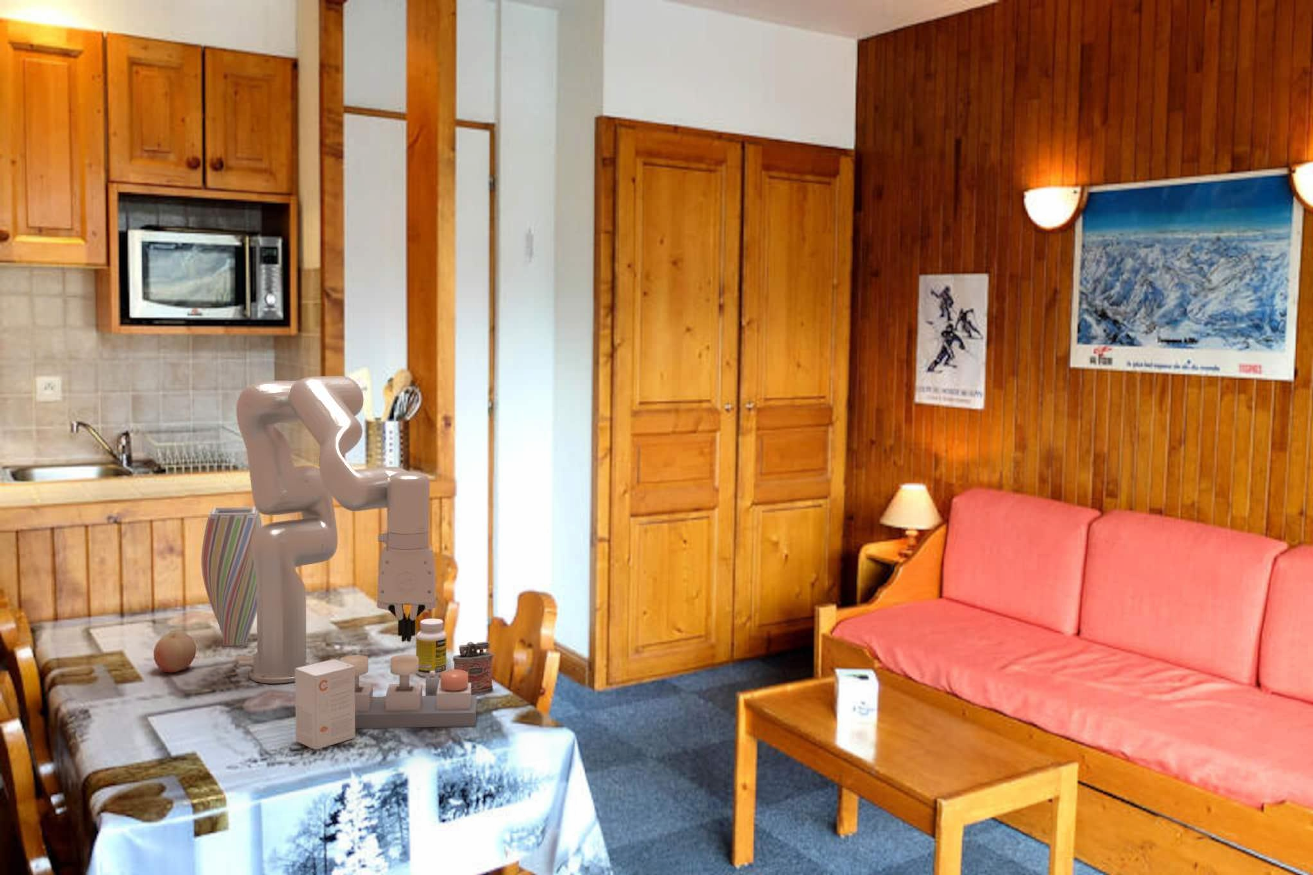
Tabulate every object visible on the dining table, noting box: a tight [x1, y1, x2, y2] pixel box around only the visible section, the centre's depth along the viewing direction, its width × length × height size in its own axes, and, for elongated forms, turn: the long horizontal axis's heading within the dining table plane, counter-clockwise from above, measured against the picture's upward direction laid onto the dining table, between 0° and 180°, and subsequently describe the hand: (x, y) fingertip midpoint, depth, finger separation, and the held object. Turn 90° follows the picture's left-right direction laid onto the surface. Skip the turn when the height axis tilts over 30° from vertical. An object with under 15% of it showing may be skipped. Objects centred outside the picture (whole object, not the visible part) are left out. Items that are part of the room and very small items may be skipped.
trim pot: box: [424, 670, 440, 696], centre depth 218 cm, size 3×3×6 cm
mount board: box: [355, 682, 478, 729], centre depth 209 cm, size 26×10×6 cm, turn 97°
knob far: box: [439, 669, 468, 691], centre depth 210 cm, size 5×5×5 cm
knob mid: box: [389, 654, 418, 689], centre depth 209 cm, size 5×5×5 cm
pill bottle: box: [415, 618, 448, 678], centre depth 236 cm, size 6×6×11 cm
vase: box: [200, 506, 263, 647], centre depth 254 cm, size 14×14×30 cm
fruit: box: [153, 630, 197, 674], centre depth 234 cm, size 8×8×8 cm
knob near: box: [339, 654, 369, 689], centre depth 207 cm, size 5×5×5 cm
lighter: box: [452, 641, 494, 696], centre depth 225 cm, size 8×3×10 cm, turn 117°
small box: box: [294, 658, 356, 751], centre depth 197 cm, size 8×6×13 cm
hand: (406, 639), depth 208 cm, fingers closed
